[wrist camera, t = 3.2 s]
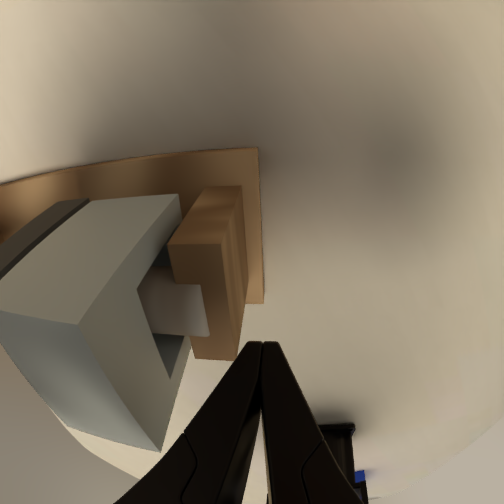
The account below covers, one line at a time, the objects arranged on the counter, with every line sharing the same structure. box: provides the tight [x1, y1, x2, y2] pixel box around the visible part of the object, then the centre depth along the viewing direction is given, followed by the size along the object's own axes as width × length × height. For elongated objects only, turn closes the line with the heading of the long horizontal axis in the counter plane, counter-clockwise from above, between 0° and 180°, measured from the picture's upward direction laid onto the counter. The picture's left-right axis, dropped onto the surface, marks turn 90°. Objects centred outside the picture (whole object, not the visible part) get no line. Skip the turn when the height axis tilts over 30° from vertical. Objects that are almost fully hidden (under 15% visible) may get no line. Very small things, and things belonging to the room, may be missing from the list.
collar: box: [0, 198, 90, 280], centre depth 11 cm, size 2×6×6 cm, turn 3°
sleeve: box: [0, 194, 191, 453], centre depth 10 cm, size 4×6×7 cm, turn 3°
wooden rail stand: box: [0, 147, 264, 361], centre depth 13 cm, size 20×8×7 cm, turn 93°
